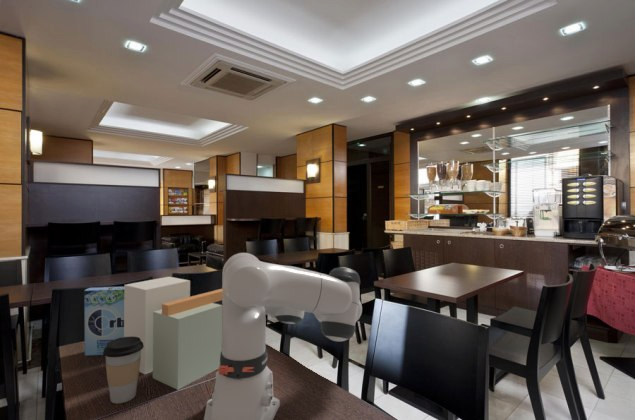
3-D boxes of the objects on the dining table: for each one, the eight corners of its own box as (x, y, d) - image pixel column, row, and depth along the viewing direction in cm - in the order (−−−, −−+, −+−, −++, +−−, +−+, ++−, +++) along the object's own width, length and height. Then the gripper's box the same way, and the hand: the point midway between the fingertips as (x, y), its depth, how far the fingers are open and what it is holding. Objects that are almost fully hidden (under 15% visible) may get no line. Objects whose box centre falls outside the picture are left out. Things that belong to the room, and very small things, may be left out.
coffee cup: (117, 387, 94) (117, 334, 94) (150, 388, 94) (150, 335, 94) (94, 407, 84) (94, 349, 84) (130, 408, 84) (130, 349, 84)
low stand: (196, 357, 113) (197, 299, 113) (221, 367, 107) (222, 305, 107) (152, 378, 99) (153, 311, 99) (177, 389, 93) (178, 319, 93)
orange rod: (229, 295, 119) (229, 286, 119) (234, 296, 117) (235, 287, 117) (161, 314, 97) (161, 303, 97) (168, 316, 95) (168, 305, 95)
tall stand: (168, 347, 121) (168, 276, 121) (189, 355, 115) (190, 280, 115) (123, 364, 108) (124, 284, 108) (144, 374, 101) (145, 289, 101)
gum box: (148, 347, 121) (149, 285, 121) (143, 353, 116) (144, 288, 116) (91, 350, 118) (91, 286, 118) (83, 356, 113) (83, 289, 113)
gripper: (283, 313, 127) (262, 303, 117) (244, 305, 138) (221, 294, 127) (288, 297, 129) (268, 286, 119) (249, 290, 140) (228, 279, 130)
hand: (244, 290), depth 123 cm, fingers open, 8 cm apart
